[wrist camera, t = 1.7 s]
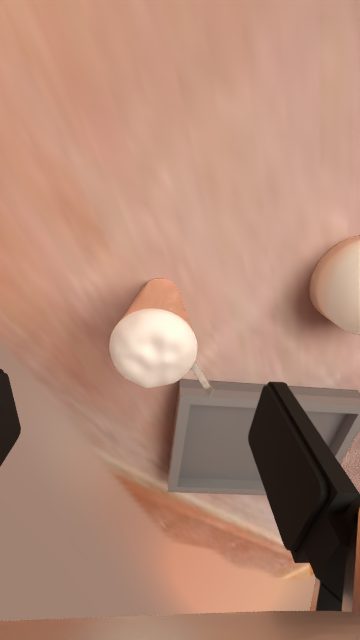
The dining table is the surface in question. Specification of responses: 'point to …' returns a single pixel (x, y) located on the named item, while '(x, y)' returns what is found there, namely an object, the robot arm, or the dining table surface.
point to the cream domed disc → (339, 285)
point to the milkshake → (156, 339)
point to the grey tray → (244, 433)
